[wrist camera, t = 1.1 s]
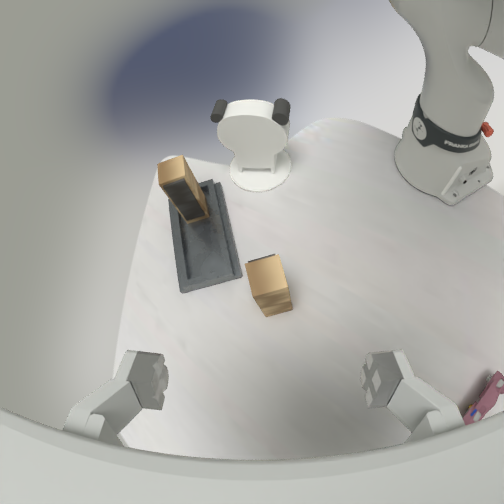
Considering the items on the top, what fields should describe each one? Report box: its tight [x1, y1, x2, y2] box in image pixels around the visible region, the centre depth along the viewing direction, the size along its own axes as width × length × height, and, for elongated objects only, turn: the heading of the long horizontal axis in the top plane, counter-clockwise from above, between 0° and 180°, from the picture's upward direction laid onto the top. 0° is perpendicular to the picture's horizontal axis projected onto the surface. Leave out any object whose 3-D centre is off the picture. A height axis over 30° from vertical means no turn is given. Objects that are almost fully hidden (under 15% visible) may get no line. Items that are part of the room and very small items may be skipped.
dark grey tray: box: [168, 179, 242, 293], centre depth 51 cm, size 10×18×2 cm, turn 13°
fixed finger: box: [158, 155, 210, 224], centre depth 47 cm, size 4×4×12 cm
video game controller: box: [463, 371, 504, 425], centre depth 31 cm, size 10×5×7 cm, turn 131°
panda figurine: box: [211, 98, 291, 192], centre depth 48 cm, size 12×11×15 cm
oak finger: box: [245, 254, 293, 317], centre depth 40 cm, size 4×4×12 cm
